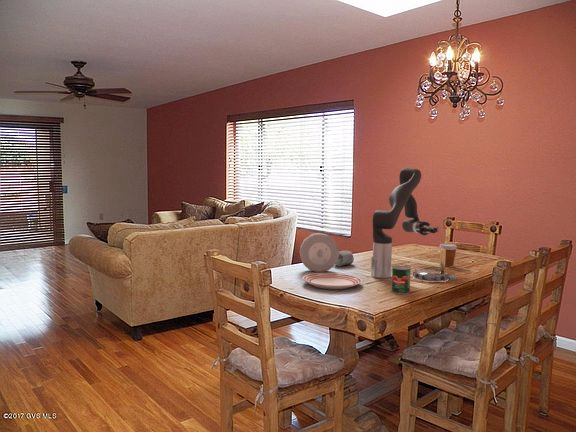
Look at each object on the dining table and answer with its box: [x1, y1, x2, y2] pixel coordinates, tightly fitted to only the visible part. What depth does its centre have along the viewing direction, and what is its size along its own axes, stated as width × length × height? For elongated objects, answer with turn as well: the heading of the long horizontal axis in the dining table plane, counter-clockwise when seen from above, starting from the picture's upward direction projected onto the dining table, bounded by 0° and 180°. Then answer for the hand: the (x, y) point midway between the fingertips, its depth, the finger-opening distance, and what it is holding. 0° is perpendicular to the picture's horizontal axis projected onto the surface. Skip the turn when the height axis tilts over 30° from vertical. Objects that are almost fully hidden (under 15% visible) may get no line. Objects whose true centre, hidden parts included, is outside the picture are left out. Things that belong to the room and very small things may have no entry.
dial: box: [299, 232, 340, 273], centre depth 242 cm, size 20×12×20 cm, turn 92°
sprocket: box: [412, 248, 450, 281], centre depth 228 cm, size 17×17×14 cm
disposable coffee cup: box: [438, 243, 458, 267], centre depth 261 cm, size 10×10×12 cm
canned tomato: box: [391, 265, 411, 295], centre depth 203 cm, size 8×8×11 cm
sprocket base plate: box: [412, 275, 450, 283], centre depth 229 cm, size 17×17×1 cm
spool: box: [334, 250, 355, 268], centre depth 259 cm, size 14×10×10 cm
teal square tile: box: [449, 275, 457, 280], centre depth 230 cm, size 3×3×1 cm
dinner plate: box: [302, 272, 363, 290], centre depth 215 cm, size 28×27×3 cm
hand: (433, 231), depth 240 cm, fingers closed
